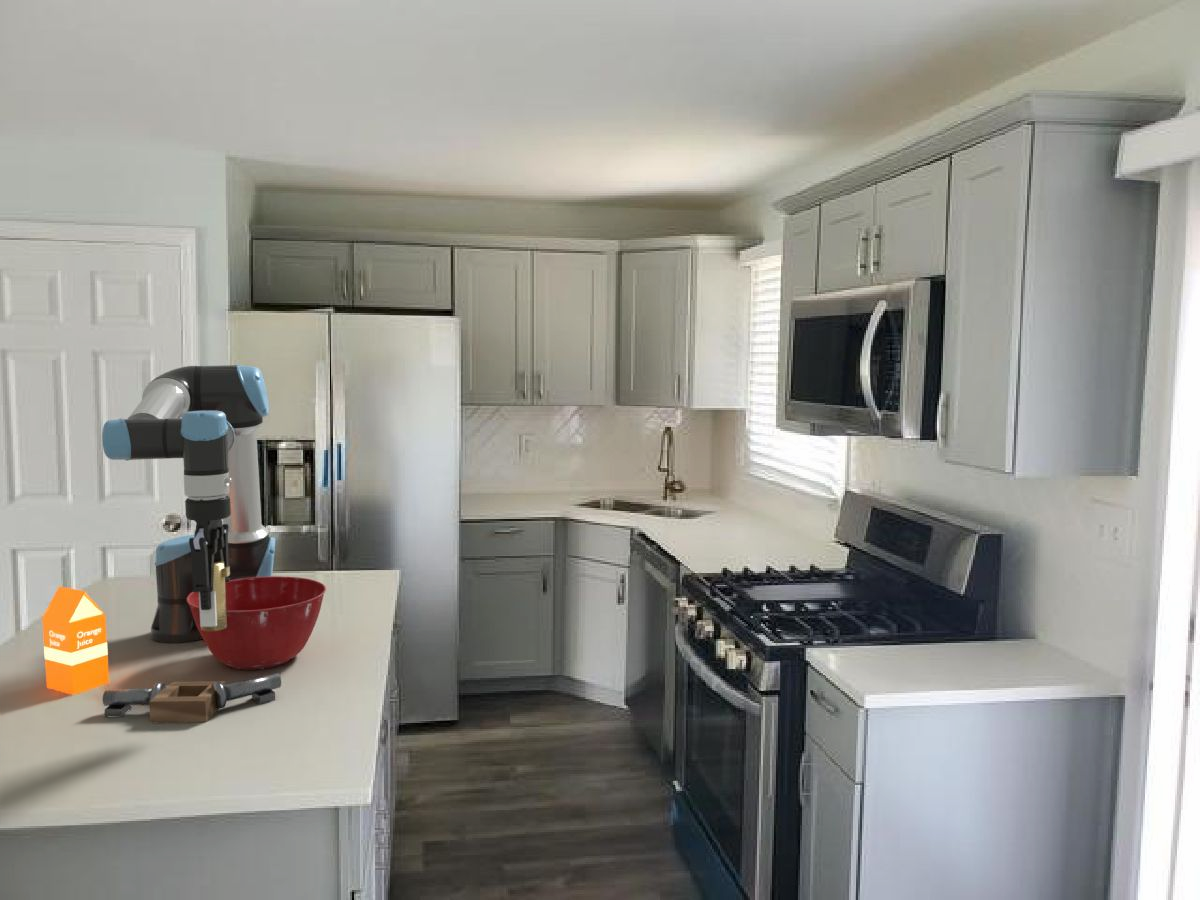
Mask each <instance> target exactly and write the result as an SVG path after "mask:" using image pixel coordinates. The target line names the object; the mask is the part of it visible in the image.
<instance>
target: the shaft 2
mask: <svg viewBox="0 0 1200 900" xmlns="http://www.w3.org/2000/svg"><path fill="white" fill-rule="evenodd" d="M221 681H222V680H217V682H213V683H212V685H211V688H213V689H214V690H215V691H216V709H218V710H219V709H224V708H225V707H226V704H227V702H229V701H233V700H236V699H241V698H245V697H249V696H251V699H253V700H254V699H255V700H256V702H257V703H258V702H259V703H258V704H260V703H261V704H264V703H263V702H265V703H268V701H269V702H272V701H271V700H273V701H275V700H276V692H275V691H273V690H277V689H280V688H281V687H282V678H281V675H280V673H278V672H274V673H270V674H269V673H268V674H266V675H261V676H257V677H253V678H250V679H245V680H241V681H236V682H233V683H229V684H225V685H224V686H223V684H222V682H221ZM255 700H254V701H255Z"/></svg>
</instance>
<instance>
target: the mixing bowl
mask: <svg viewBox="0 0 1200 900" xmlns="http://www.w3.org/2000/svg"><path fill="white" fill-rule="evenodd" d="M326 591H327V587H326V585H325V584H324V583H322V582H320V581H317V580H315V579H311V578H305V577H299V576H298V577H297V576H282V575H281V576H279V575H278V576H277V575H275V576H274V575H272V576H270V577H253V578H243V579H235V580H230V582H225V592H226V613H227V627H226V628H225V629H222V630H218V631H203V630H201V627H200V608H199V592H192V593H190V594H189V595H188V597H187V602H188V604H189V605H190V608H191V611H192V615H193V617H194V620H195V623H196V625H197V628H198V630H199V632H200V634H201V636H202V638H203V639H202V640H203V642H204V644H206V647H207V649H208V650H209V651H210V653H211V654H212V656H214V658H216V660H218V661H219V662H221V663H222V664H224V665H227V666H228V667H230V668H233V669H237V670H244V671H245V670H246V671H248V670H249V671H257V670H265V669H264V668H266V669H270V667H271V668H275V667H274V666H276V667H278V665H279V666H282V665H284V664H287V663H288V662H289V661H291V660H290V659H293V658H295V657H296V656H297V655H299V653H301V652H302V651H303V649H304V648H305V646H306V645H307V643H308V641H309V639H310V637H311V635H312V633H313V631H314V628H315V626H316V624H317V620H318V618H319V616H320V611H321V609H322V604H323V600H324V595H325V594H326ZM281 664H282V665H281ZM256 669H257V670H256Z"/></svg>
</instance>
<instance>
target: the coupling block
mask: <svg viewBox="0 0 1200 900" xmlns="http://www.w3.org/2000/svg"><path fill="white" fill-rule="evenodd" d="M217 681H218V680H217ZM217 681H215V680H209V681H207V680H206V681H205V680H204V681H172V682H171V683H170V684H168V685H166V688H165V689H163V690H162V691H161V692H160V693H159V694H158V695H156V696H155V697H154V698H153V699H152V700H151V701H149V705H148V707H149V723H150V724H152V723H153V724H159V723H160V724H163V722H164V724H166V722H168V723H169V722H170V723H171V722H172V723H207V722H208V721H209V720H210V719H211V718H212V717H213V716H214V714H215V713H217V711H218V710H219V709H216V691H215V690H214V689H213V688H211V685H212V683H213V682H217ZM220 681H221V682H222V684H223V686H224V685H226V681H225V680H220ZM207 720H208V721H207ZM151 722H152V723H151ZM154 722H156V723H154ZM157 722H158V723H157Z"/></svg>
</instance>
